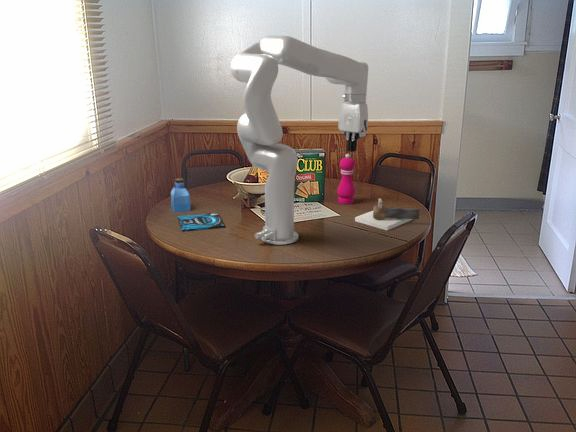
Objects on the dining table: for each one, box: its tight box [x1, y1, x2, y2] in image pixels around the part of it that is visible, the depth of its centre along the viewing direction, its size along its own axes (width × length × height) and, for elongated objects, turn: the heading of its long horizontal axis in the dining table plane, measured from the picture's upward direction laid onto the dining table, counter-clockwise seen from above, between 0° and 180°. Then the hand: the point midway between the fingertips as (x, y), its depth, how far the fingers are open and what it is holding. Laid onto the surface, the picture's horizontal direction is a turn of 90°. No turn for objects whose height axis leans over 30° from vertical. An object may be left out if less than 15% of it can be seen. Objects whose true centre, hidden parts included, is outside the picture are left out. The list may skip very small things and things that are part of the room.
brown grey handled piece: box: [372, 198, 420, 220], centre depth 193 cm, size 16×4×6 cm, turn 84°
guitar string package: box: [177, 212, 226, 232], centre depth 193 cm, size 15×1×15 cm
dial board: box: [354, 210, 413, 231], centre depth 197 cm, size 16×15×2 cm
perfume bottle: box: [170, 177, 192, 213], centre depth 206 cm, size 6×6×12 cm
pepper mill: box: [336, 153, 356, 205], centre depth 215 cm, size 7×7×20 cm
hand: (351, 151), depth 193 cm, fingers closed
